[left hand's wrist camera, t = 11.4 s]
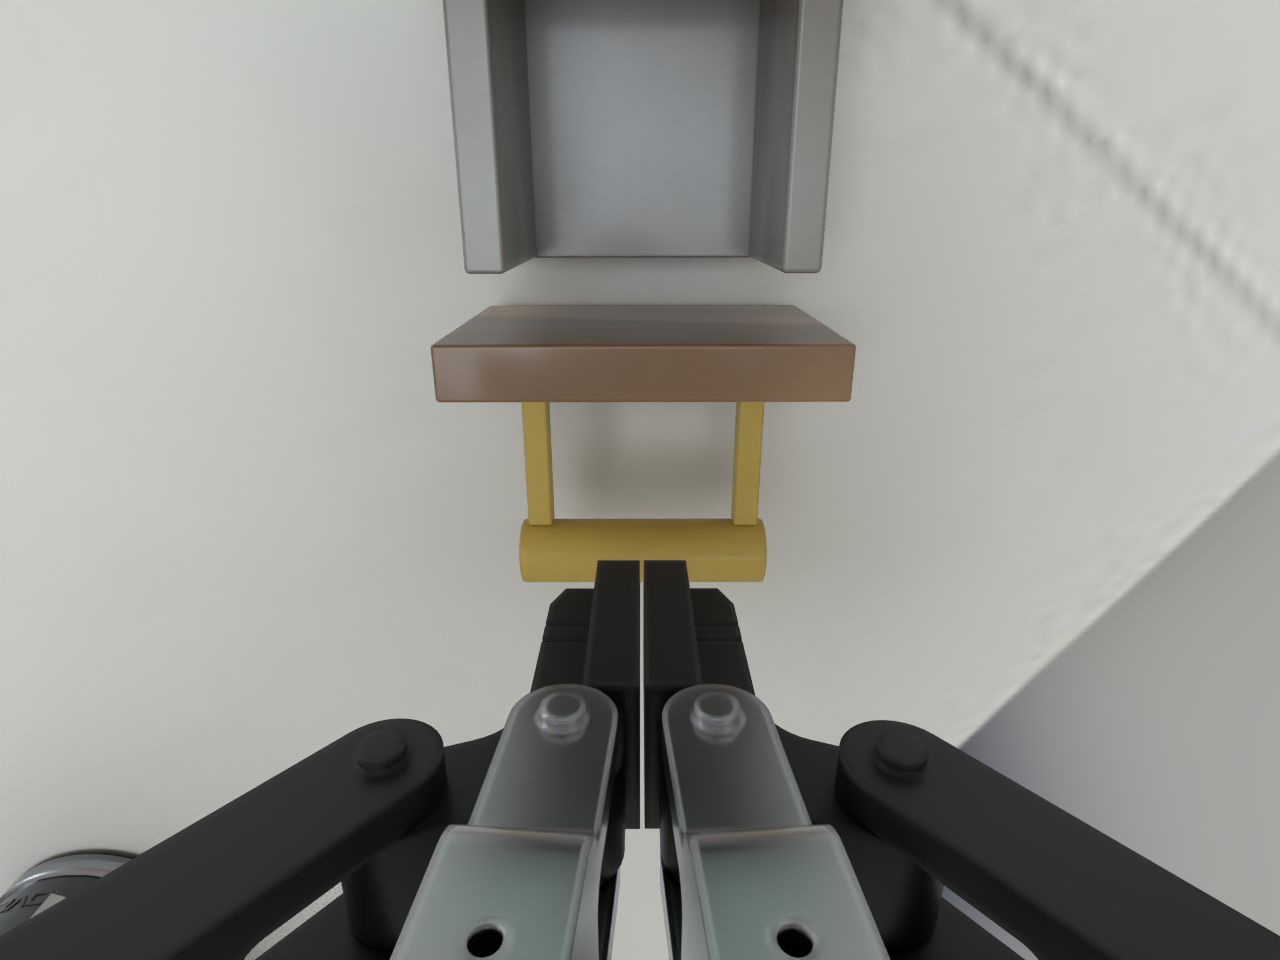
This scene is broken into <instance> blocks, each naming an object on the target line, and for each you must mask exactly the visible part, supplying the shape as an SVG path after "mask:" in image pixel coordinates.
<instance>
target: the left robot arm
mask: <svg viewBox="0 0 1280 960" xmlns="http://www.w3.org/2000/svg"><path fill="white" fill-rule="evenodd" d="M644 794H645V828H660V886H661V895H662V903H663V912H664V921H665V929H666V938H667V946H668V955H669V960H1025V959H1023V958H1022V957H1021V956H1019V955H1018V954H1017V953H1015V952H1014V951H1013V950H1011V949H1010V948H1009V947H1007V946H1006V945H1005V944H1004V943H1002V942H1001V941H1000V940H998V939H997V938H996V937H994V936H993V935H992V934H990V933H989V932H988V931H986V930H985V929H984V928H982V927H981V926H980V925H978V924H977V923H976V922H974V921H973V920H972V919H970V918H969V917H968V916H966V915H965V914H964V913H962V912H961V911H960V910H958V909H957V908H956V907H954V906H953V905H952V904H950V903H949V902H948V901H947V900H945V899H944V898H943V897H942V891H943V886H944V885H945V886H946V887H947V888H949V889H950V890H951V891H953V892H954V893H956V894H957V895H958V896H960V897H961V898H962V899H964V900H965V901H966V902H968V903H969V904H970V905H972V906H973V907H974V908H976V909H977V910H978V911H980V912H981V913H983V914H984V915H985V916H987V917H988V918H989V919H991V920H992V921H993V922H995V923H996V924H997V925H999V926H1000V927H1001V928H1003V929H1004V930H1005V931H1007V932H1008V933H1010V934H1011V935H1012V936H1014V937H1015V938H1016V939H1018V940H1019V941H1020V942H1021V943H1023V944H1024V945H1025V946H1026V947H1027V948H1028V949H1029V950H1030V951H1032V953H1033V954H1034V955H1035V956H1036V957H1037V958H1038V960H1280V936H1279V935H1277V934H1275V933H1274V932H1272V931H1270V930H1268V929H1267V928H1265V927H1263V926H1261V925H1260V924H1258V923H1256V922H1255V921H1253V920H1251V919H1250V918H1248V917H1246V916H1244V915H1243V914H1241V913H1239V912H1237V911H1236V910H1234V909H1232V908H1231V907H1229V906H1227V905H1225V904H1224V903H1222V902H1220V901H1219V900H1217V899H1215V898H1213V897H1212V896H1210V895H1208V894H1207V893H1205V892H1203V891H1201V890H1200V889H1198V888H1196V887H1195V886H1193V885H1191V884H1189V883H1188V882H1186V881H1184V880H1183V879H1181V878H1179V877H1177V876H1176V875H1174V874H1172V873H1171V872H1169V871H1167V870H1165V869H1164V868H1162V867H1160V866H1158V865H1157V864H1155V863H1153V862H1152V861H1150V860H1148V859H1146V858H1145V857H1143V856H1141V855H1140V854H1138V853H1136V852H1134V851H1133V850H1131V849H1129V848H1128V847H1126V846H1124V845H1122V844H1121V843H1119V842H1117V841H1116V840H1114V839H1112V838H1110V837H1109V836H1107V835H1105V834H1104V833H1102V832H1100V831H1098V830H1097V829H1095V828H1093V827H1091V826H1090V825H1088V824H1086V823H1085V822H1083V821H1081V820H1079V819H1078V818H1076V817H1074V816H1073V815H1071V814H1069V813H1067V812H1066V811H1064V810H1062V809H1061V808H1059V807H1057V806H1055V805H1054V804H1052V803H1050V802H1049V801H1047V800H1045V799H1043V798H1042V797H1040V796H1038V795H1036V794H1035V793H1033V792H1031V791H1030V790H1028V789H1026V788H1024V787H1023V786H1021V785H1019V784H1018V783H1016V782H1014V781H1012V780H1011V779H1009V778H1007V777H1006V776H1004V775H1002V774H1000V773H999V772H997V771H995V770H994V769H992V768H990V767H988V766H987V765H985V764H983V763H982V762H980V761H978V760H976V759H975V758H973V757H971V756H969V755H968V754H966V753H964V752H963V751H961V750H959V749H957V748H956V747H954V746H952V745H951V744H949V743H947V742H945V741H944V740H942V739H940V738H939V737H937V736H935V735H933V734H932V733H930V732H928V731H926V730H924V729H921V728H919V727H916V726H913V725H910V724H906V723H902V722H897V721H888V720H875V721H868V722H864V723H861V724H858V725H856V726H854V727H852V728H850V729H849V730H848V731H847V732H846V733H845V734H844V735H843V737H842V739H841V741H840V745H839V746H835V745H831V744H827V743H822V742H818V741H814V740H810V739H806V738H802V737H799V736H797V735H794V734H792V733H790V732H788V731H786V730H784V729H782V728H780V727H779V726H777V725H776V724H774V721H773V719H772V716H771V714H770V712H769V710H768V708H767V707H766V706H765V704H764V703H763V702H762V701H761V700H760V699H758V698H757V697H756V696H755V693H754V689H753V684H752V680H751V676H750V672H749V667H748V663H747V659H746V655H745V650H744V646H743V642H742V640H741V633H740V629H739V626H738V621H737V616H736V612H735V608H734V604H733V603H732V602H731V601H730V600H729V599H728V598H727V597H726V596H725V595H724V594H723V593H722V592H721V591H720V590H719V589H717V588H690V587H689V579H688V572H687V564H686V560H644ZM625 829H640V560H598V562H597V570H596V578H595V587H594V589H565V590H564V591H563V592H562V593H561V594H560V595H559V596H558V597H557V598H556V599H555V600H554V601H553V602H552V603H551V604H550V608H549V612H548V616H547V621H546V626H545V630H544V634H543V642H542V643H541V647H540V652H539V656H538V661H537V665H536V670H535V674H534V678H533V683H532V687H531V692H530V693H529V694H527V695H526V696H524V697H523V698H522V699H520V700H519V701H518V702H517V703H516V704H515V706H514V707H513V708H512V710H511V712H510V714H509V716H508V719H507V721H506V724H505V727H504V729H502V730H500V731H498V732H496V733H494V734H491V735H489V736H486V737H484V738H480V739H477V740H473V741H468V742H464V743H460V744H455V745H451V746H447V747H444V746H443V741H442V738H441V736H440V734H439V733H438V732H437V730H435V729H434V728H433V727H432V726H430V725H428V724H426V723H424V722H421V721H417V720H412V719H388V720H383V721H378V722H374V723H371V724H368V725H365V726H363V727H360V728H358V729H356V730H354V731H352V732H350V733H348V734H347V735H345V736H343V737H341V738H340V739H338V740H336V741H335V742H333V743H331V744H329V745H328V746H326V747H324V748H323V749H321V750H319V751H317V752H316V753H314V754H312V755H311V756H309V757H307V758H305V759H304V760H302V761H300V762H298V763H297V764H295V765H293V766H292V767H290V768H288V769H286V770H285V771H283V772H281V773H280V774H278V775H276V776H274V777H273V778H271V779H269V780H268V781H266V782H264V783H262V784H261V785H259V786H257V787H256V788H254V789H252V790H250V791H249V792H247V793H245V794H244V795H242V796H240V797H238V798H237V799H235V800H233V801H231V802H230V803H228V804H226V805H225V806H223V807H221V808H219V809H218V810H216V811H214V812H213V813H211V814H209V815H207V816H206V817H204V818H202V819H201V820H199V821H197V822H195V823H194V824H192V825H190V826H189V827H187V828H185V829H183V830H182V831H180V832H178V833H177V834H175V835H173V836H171V837H170V838H168V839H166V840H164V841H163V842H161V843H159V844H158V845H156V846H154V847H152V848H151V849H149V850H147V851H146V852H144V853H142V854H140V855H139V856H137V857H135V858H134V859H129V858H125V857H119V856H113V855H103V854H81V855H71V856H65V857H60V858H56V859H53V860H50V861H46V862H44V863H42V864H39V865H37V866H35V867H34V868H32V869H30V870H29V871H27V872H26V873H24V874H23V875H22V876H21V877H20V878H19V879H18V880H17V881H16V882H15V883H14V884H13V885H12V886H11V887H10V888H9V889H8V890H7V891H6V892H5V894H4V895H3V896H2V897H1V898H0V960H244V958H245V957H246V956H247V954H248V953H249V952H250V951H251V950H252V949H253V948H254V947H255V946H256V945H257V944H258V943H259V942H260V941H261V940H263V939H264V938H265V937H266V936H268V935H269V934H270V933H272V932H273V931H275V930H276V929H277V928H279V927H280V926H281V925H283V924H284V923H285V922H287V921H288V920H289V919H291V918H292V917H293V916H295V915H296V914H298V913H299V912H300V911H302V910H303V909H304V908H306V907H307V906H308V905H310V904H311V903H312V902H314V901H315V900H316V899H318V898H319V897H321V896H322V895H323V894H325V893H326V892H327V891H329V890H330V889H331V888H333V887H334V886H335V885H337V884H338V883H339V882H341V884H342V889H343V894H341V895H340V896H339V897H337V898H336V899H335V900H334V901H332V902H331V903H330V904H328V905H327V906H326V907H324V908H323V909H322V910H320V911H319V912H318V913H316V914H315V915H314V916H312V917H311V918H310V919H308V920H307V921H306V922H304V923H303V924H302V925H300V926H299V927H298V928H296V929H295V930H294V931H292V932H291V933H290V934H288V935H287V936H286V937H284V938H283V939H282V940H280V941H279V942H278V943H277V944H275V945H274V946H273V947H271V948H270V949H269V950H267V951H266V952H265V953H263V954H262V955H261V956H259V957H258V958H257V959H255V960H611V955H612V946H613V938H614V929H615V921H616V912H617V903H618V895H619V886H620V865H621V863H622V860H623V858H624V851H625Z"/></svg>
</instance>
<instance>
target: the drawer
mask: <svg viewBox="0 0 1280 960" xmlns="http://www.w3.org/2000/svg"><path fill="white" fill-rule="evenodd" d="M443 9H444V21H445V33H446V45H447V58H448V70H449V82H450V94H451V106H452V119H453V131H454V143H455V155H456V167H457V179H458V192H459V204H460V216H461V228H462V240H463V252H464V265H465V271H466V273H469V274H502V273H504V272H506V271H508V270H510V269H512V268H514V267H516V266H518V265H520V264H522V263H524V262H526V261H528V260H530V259H533V258H561V257H752V258H754V259H756V260H758V261H761V262H763V263H765V264H767V265H769V266H771V267H774V268H776V269H778V270H780V271H782V272H785V273H817V272H820V270H821V266H822V254H823V242H824V229H825V217H826V205H827V193H828V181H829V168H830V156H831V144H832V132H833V119H834V107H835V95H836V83H837V70H838V58H839V46H840V34H841V21H842V9H843V0H443ZM855 351H856V346H855V345H854V344H853V343H851V342H850V341H848V340H847V339H845V338H843V337H842V336H840V335H839V334H837V333H836V332H834V331H833V330H831V329H830V328H828V327H826V326H825V325H823V324H822V323H820V322H819V321H817V320H816V319H814V318H813V317H811V316H809V315H808V314H806V313H805V312H803V311H802V310H800V309H799V308H797V307H795V306H490V307H489V308H487V309H486V310H484V311H483V312H481V313H480V314H478V315H477V316H475V317H474V318H472V319H471V320H469V321H468V322H466V323H465V324H463V325H462V326H460V327H459V328H457V329H456V330H454V331H453V332H451V333H450V334H448V335H447V336H445V337H444V338H442V339H441V340H439V341H438V342H436V343H435V344H433V345H432V346H431V356H432V366H433V376H434V385H435V395H436V400H437V401H438V402H522V416H523V433H524V450H525V466H526V483H527V500H528V517H529V519H525V520H524V522H523V524H522V528H521V534H520V551H519V555H520V571H521V576H522V579H523V581H524V582H595V578H596V570H597V562H598V560H640V582H644V560H686V564H687V572H688V579H689V582H761V581H763V579H764V576H765V570H766V553H767V552H766V535H765V528H764V524H763V522H762V520H761V519H757V515H758V498H759V481H760V464H761V447H762V430H763V413H764V402H847V401H850V399H851V390H852V380H853V370H854V360H855ZM549 402H736V422H735V444H734V466H733V488H732V510H731V516H732V519H554V496H553V475H552V453H551V432H550V410H549Z"/></svg>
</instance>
